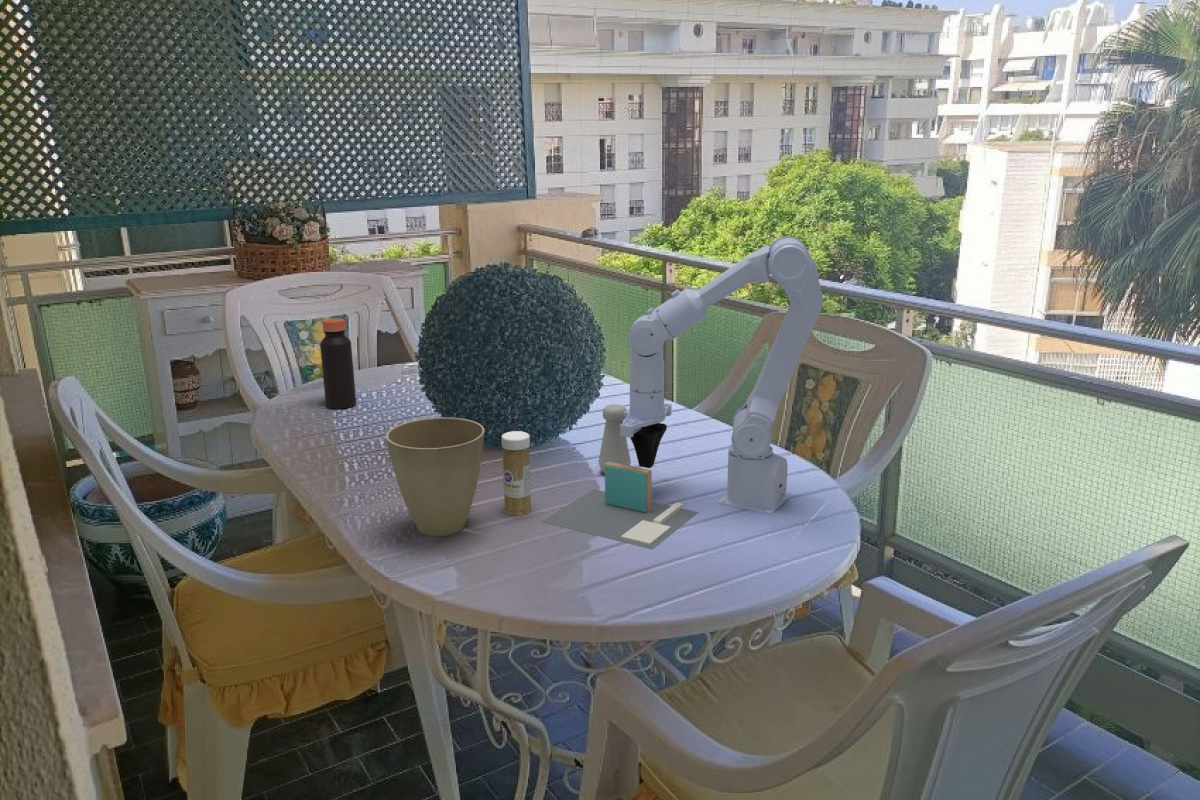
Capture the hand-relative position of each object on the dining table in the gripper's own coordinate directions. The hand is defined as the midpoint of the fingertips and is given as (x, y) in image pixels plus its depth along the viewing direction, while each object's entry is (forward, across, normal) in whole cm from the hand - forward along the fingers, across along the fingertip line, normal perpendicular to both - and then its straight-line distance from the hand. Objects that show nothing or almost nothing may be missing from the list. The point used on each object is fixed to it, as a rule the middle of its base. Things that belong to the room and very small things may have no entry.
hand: (646, 466), depth 154 cm
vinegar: (+6, -14, -87) cm, 88 cm away
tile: (+5, +6, 0) cm, 8 cm away
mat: (+6, +10, +1) cm, 12 cm away
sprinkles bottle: (+6, +16, -15) cm, 23 cm away
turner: (+5, +10, +8) cm, 14 cm away
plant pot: (+6, +28, -22) cm, 36 cm away
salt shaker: (+6, -6, -10) cm, 13 cm away
